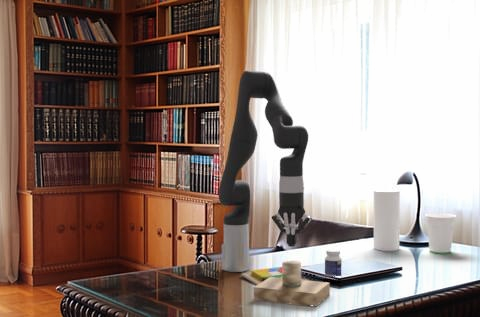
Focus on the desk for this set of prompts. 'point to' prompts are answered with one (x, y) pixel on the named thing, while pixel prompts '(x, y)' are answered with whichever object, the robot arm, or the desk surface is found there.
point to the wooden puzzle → (264, 275)
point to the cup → (440, 232)
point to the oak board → (292, 292)
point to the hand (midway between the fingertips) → (291, 246)
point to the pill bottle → (332, 263)
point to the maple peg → (291, 273)
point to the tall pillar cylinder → (386, 219)
